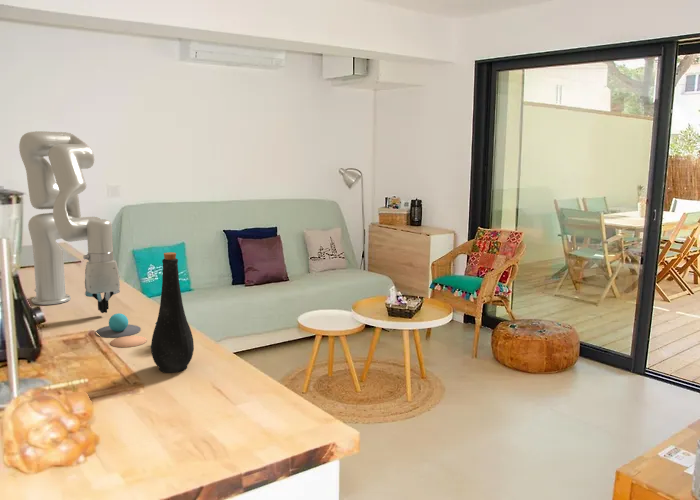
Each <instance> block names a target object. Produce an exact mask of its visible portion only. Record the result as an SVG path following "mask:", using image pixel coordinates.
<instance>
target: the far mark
mask: <svg viewBox="0 0 700 500" xmlns="http://www.w3.org/2000/svg"><path fill="white" fill-rule="evenodd" d="M147 341H148V339H147V338H146V337H144V336H140V335H130V336H125V337H117V338H114V339H112V340H111V341H110V342H109V344H110V345H111V346H112V347H115V348H132V347H133V348H134V347H138V346H141V345H143V344H145V343H147Z"/></svg>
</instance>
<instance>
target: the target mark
mask: <svg viewBox="0 0 700 500" xmlns="http://www.w3.org/2000/svg"><path fill="white" fill-rule="evenodd" d="M141 331H142V330H141V327H140V326H138V325H135V324H129V323H128V326H127V328H126V329H125V330H123V331H121V332H115V331H113V330H112V329H111V328H110V327H109V325H106V326H103V327H100V328H98V329H97V330H95V332H97V333H98V334H99V335H100V336H101V337H102V338H108V339H109V338H110V339H113V338H114V339H116V338H119V337H125V336H135V334H136V335H137V334H138V333H140V332H141ZM100 336H99V337H100ZM101 337H100V338H101Z"/></svg>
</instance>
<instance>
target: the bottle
mask: <svg viewBox="0 0 700 500" xmlns="http://www.w3.org/2000/svg"><path fill="white" fill-rule="evenodd" d="M161 263H162V278H161V279H162V280H161V282H162V283H161V293H160V294H161V295H160V301H159V302H160V303H159V310H158V314H157V315H158V317H157V320H156V322H157V323H156V322H155V323H156V324H155V326H154V330H153V334H152V337H151V344H150V352H151V356H152V360H153V362H154V364H155V365H156V366H157V367H158V371H159V372H162V373H164V374H165V373H166V374H175V373H180V372H184V371H186V370H187V369H188V365H189V364H190V363H191V360H192V358H193V355H194V349H195V345H194V343H195V342H194V336H193V333H192V330H191V327H190V324H189V322H188V319H187V316H186V312H185V309H184V304H183V297H182V293H181V292H182V291H181V285H180V277H179V275H180V274H179V265H178V264H179V259H178V258H177V253H176V252H174V251H173V252H171V251H169V252H163V259H162V260H161Z"/></svg>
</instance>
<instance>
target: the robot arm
mask: <svg viewBox="0 0 700 500" xmlns="http://www.w3.org/2000/svg"><path fill="white" fill-rule="evenodd" d="M18 149H19V154H20V158H21V161H22V164H23V165H24V169H25V171H26V173H25V174H26V179H27V189H28V197H29V202H30V204H31V206H32V208H34V209H36V210H52V212H47V213H45V212H44V213H39V214H35V215H33V216H32V217H31V218H30V219H29V220H28V225H27V227H28V232H29V237H30V240H31V244H32V245H31V246H32V253H33V254H32V255H33V267H34V281H35V282H34V283H35V284H34V285H35V288H34V290H33V291H34V292H35V296H34V297H32V298H31V303H32V304H34V305H38V306H39V305H40V306H41V305H44V306H47V305H57V304H62V303H66V302H69V301H70V300H71V295H70V294H68V293H66V292H67V291H66V279H65V278H66V277H65V276H66V275H65V262H64V261H65V260H64V252H63V251H64V250H63V249H62V247H61V246H60V245H59V244H58V243H57V241H56V240H61V239H62V240H63V241H65V242H68V243H69V242H71V243H72V242H79V241H81V242H82V241H87V254H83V260H86V261H87V262H86V264H85V273H84V288H85V292H84V296H85V297H89V298H94V299H95V300H96V301H97V311H99V312H100V313H101V314H104V313H108V310H109V309H110V308H109V300H110V299H111V298H112V296H114V295H116V294H120V292H121V290H120V288H121V287H120V286H121V285H120V284H121V283H120V276H119V269H118V263H117V260H115V259H114V248H113V244H114V243H113V225H112V222H111V220H109V219H103V218H102V219H101V218H100V217H97V216H81V215H82V214H81V208H80V199H79V194H81V193H82V192H84V191H85V190H86V188H87V184H86V183H87V182H86V180H85V176H84V174H83V170H86V169H87V170H88V169H90V168H92V167H93V166H94V163H95V155H94V152H93V150H92V148H91V147H90V146H89V145H88V144H87V143H86V142H84V141H83V140H82V139H80V138H79V137H78V136H76V135H74V134H73V133H71V132H67V131H66V132H63V131H44V130H43V131H37V130H36V131H30V132H29V131H27V132H25V133H24V134H23V135H22V136H21V137H20V139H19V143H18ZM44 157H48V159H49V161H48V160H47V159H46V158H44ZM102 294H103V297H102Z"/></svg>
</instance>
